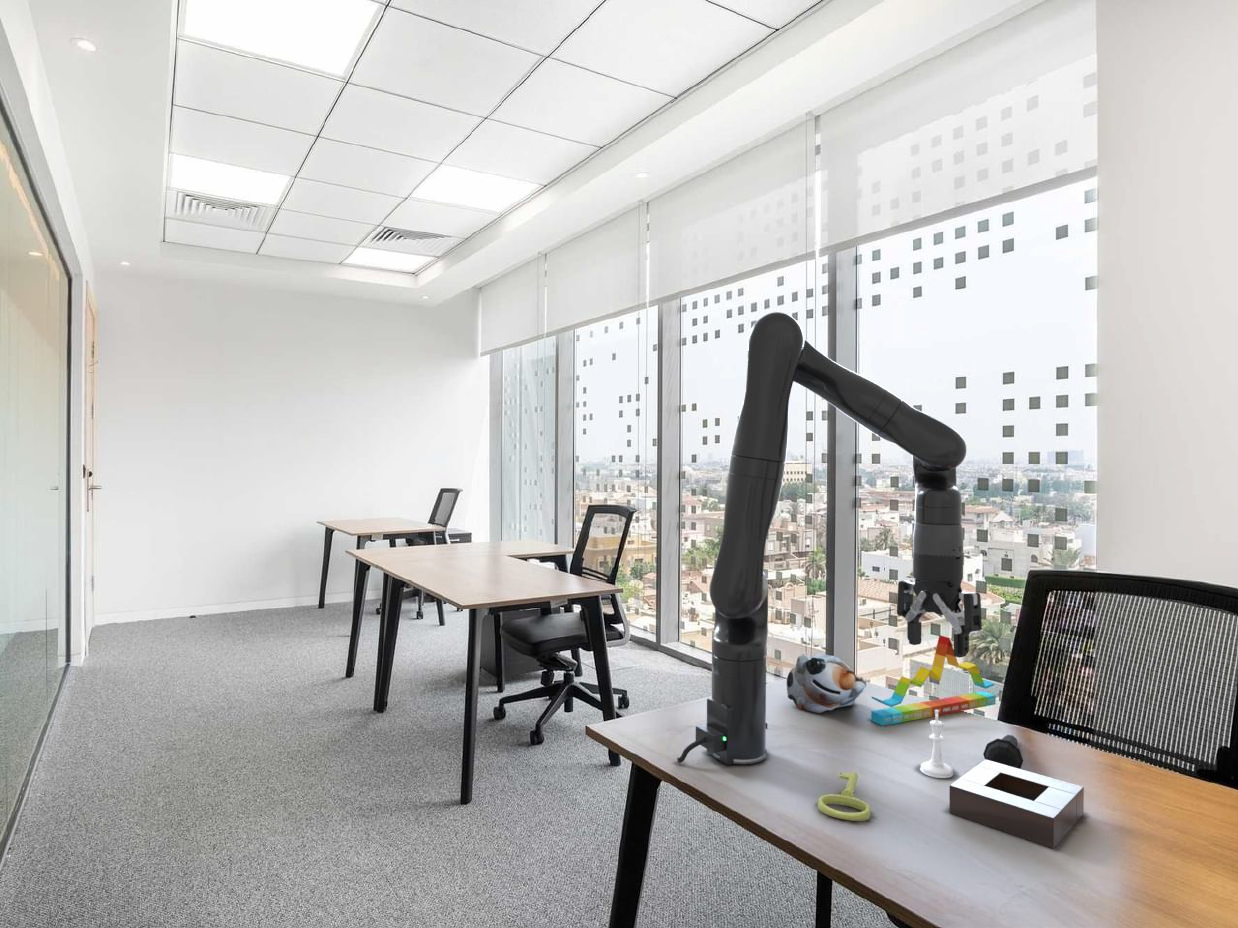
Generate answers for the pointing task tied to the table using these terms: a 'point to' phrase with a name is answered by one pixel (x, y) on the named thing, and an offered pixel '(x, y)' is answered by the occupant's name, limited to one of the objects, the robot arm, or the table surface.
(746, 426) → the robot arm
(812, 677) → the lucky cat figurine
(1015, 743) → the microphone
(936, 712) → the chess piece
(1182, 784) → the table surface
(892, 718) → the chart
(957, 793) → the holder
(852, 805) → the key
